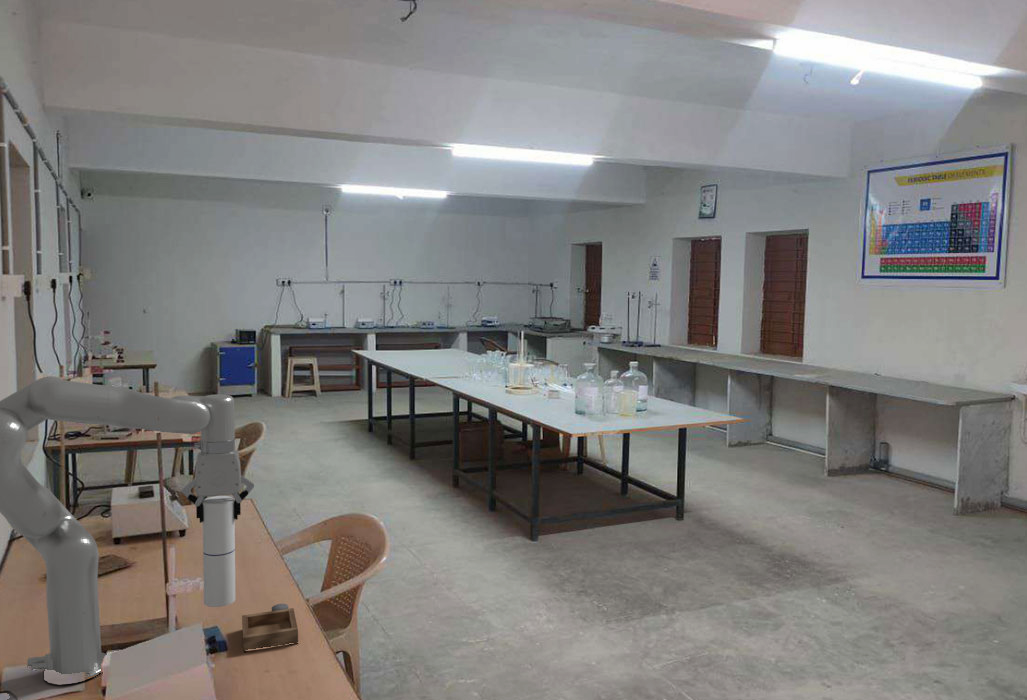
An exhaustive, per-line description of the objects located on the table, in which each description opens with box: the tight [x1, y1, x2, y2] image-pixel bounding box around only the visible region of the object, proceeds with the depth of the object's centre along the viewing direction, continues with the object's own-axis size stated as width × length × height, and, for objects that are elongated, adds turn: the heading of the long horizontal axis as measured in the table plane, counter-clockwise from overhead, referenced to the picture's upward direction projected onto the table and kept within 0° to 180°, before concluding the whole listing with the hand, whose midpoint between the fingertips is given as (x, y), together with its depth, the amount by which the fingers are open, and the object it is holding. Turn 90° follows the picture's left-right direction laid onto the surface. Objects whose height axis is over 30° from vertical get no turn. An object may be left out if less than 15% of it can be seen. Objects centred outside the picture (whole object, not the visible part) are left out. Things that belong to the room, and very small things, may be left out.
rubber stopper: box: [271, 603, 289, 611], centre depth 190 cm, size 4×4×3 cm
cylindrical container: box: [202, 495, 236, 608], centre depth 184 cm, size 7×7×25 cm
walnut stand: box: [241, 607, 299, 651], centre depth 181 cm, size 12×12×4 cm
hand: (218, 518), depth 183 cm, fingers closed on cylindrical container, 7 cm apart
